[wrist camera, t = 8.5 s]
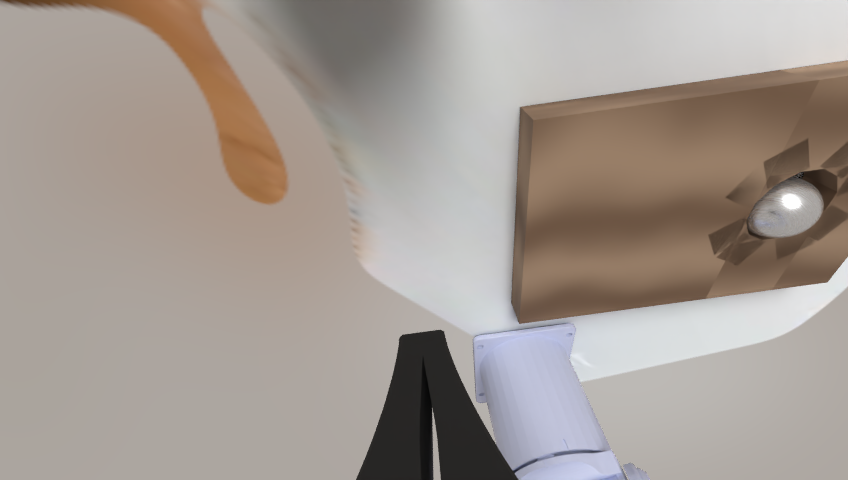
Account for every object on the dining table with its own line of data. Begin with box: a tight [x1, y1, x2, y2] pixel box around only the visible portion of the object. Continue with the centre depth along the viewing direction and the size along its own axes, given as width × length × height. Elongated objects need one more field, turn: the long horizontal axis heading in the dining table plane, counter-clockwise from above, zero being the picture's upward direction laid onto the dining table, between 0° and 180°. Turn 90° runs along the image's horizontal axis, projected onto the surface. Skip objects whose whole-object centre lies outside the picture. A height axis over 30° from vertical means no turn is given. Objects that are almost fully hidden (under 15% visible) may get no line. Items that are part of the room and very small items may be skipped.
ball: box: [746, 177, 824, 238], centre depth 20 cm, size 4×4×4 cm
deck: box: [511, 61, 848, 324], centre depth 21 cm, size 14×21×2 cm, turn 97°
